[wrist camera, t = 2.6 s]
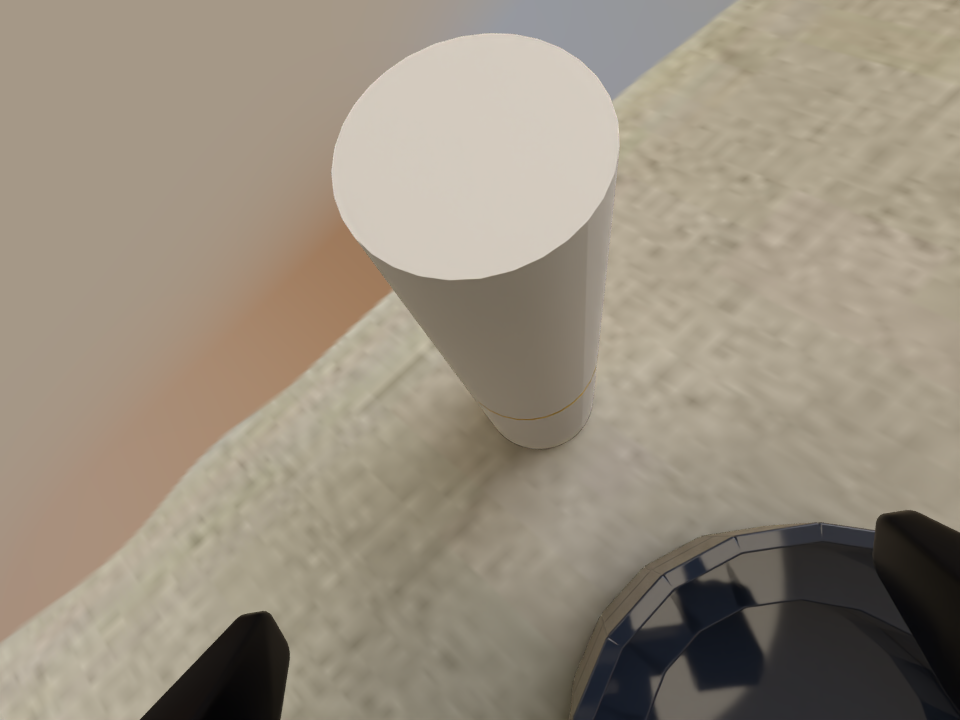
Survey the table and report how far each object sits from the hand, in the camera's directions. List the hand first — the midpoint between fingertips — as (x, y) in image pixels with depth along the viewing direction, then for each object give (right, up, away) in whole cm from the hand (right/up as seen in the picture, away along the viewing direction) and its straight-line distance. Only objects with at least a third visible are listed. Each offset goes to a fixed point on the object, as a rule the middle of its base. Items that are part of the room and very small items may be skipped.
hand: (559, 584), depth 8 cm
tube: (+1, +2, +14) cm, 14 cm away
